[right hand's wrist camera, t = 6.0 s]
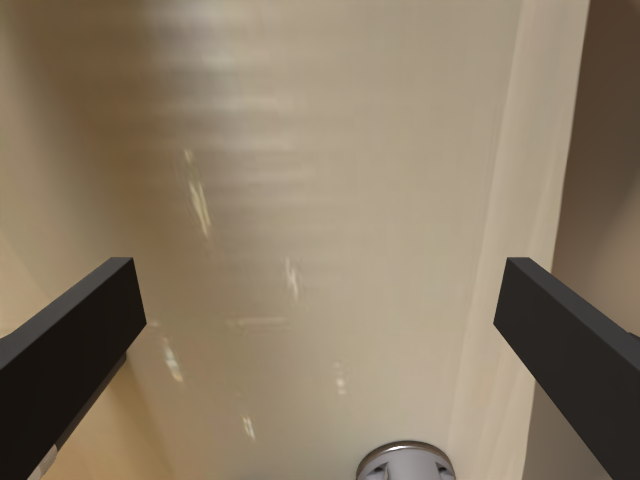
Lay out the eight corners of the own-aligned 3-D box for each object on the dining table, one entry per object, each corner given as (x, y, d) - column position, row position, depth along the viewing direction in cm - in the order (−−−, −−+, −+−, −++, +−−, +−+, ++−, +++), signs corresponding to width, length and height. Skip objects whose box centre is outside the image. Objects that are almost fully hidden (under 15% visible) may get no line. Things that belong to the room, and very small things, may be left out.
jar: (133, 358, 49) (53, 470, 34) (107, 372, 49) (18, 487, 35) (110, 334, 47) (16, 440, 33) (83, 348, 48) (-20, 457, 33)
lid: (69, 453, 36) (53, 476, 34) (32, 471, 37) (14, 493, 35) (31, 420, 34) (12, 442, 32) (-7, 439, 35) (-28, 461, 33)
